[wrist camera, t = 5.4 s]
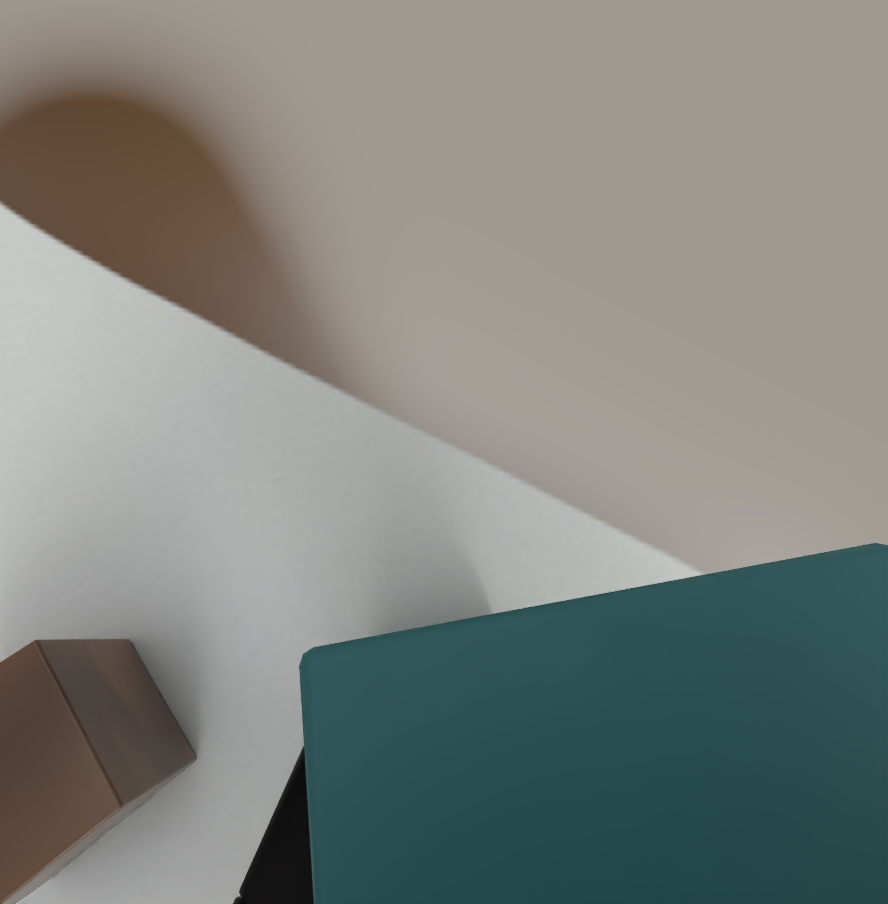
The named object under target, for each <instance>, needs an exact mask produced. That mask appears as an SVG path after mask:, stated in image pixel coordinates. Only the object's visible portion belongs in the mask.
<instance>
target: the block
mask: <svg viewBox="0 0 888 904" xmlns="http://www.w3.org/2000/svg"><path fill="white" fill-rule="evenodd" d="M195 761H196V756H195V754H194V752H193V750H192V749H191V747H190V745H189V743H188V742H187V740H186V738H185V736H184V735H183V733H182V731H181V729H180V728H179V726H178V724H177V722H176V721H175V719H174V717H173V715H172V714H171V712H170V710H169V708H168V707H167V705H166V703H165V701H164V700H163V698H162V696H161V694H160V693H159V691H158V689H157V687H156V686H155V684H154V682H153V680H152V679H151V677H150V675H149V673H148V672H147V670H146V668H145V666H144V665H143V663H142V661H141V659H140V658H139V656H138V654H137V652H136V651H135V649H134V647H133V645H132V644H131V642H130V640H129V639H72V640H35V641H33V642H31V643H30V644H28V645H27V646H25V647H24V648H22V649H21V650H19V651H18V652H16V653H15V654H13V655H11V656H10V657H8V658H7V659H5V660H4V661H2V662H1V663H0V904H15V903H17V902H18V901H20V900H21V899H22V898H24V897H25V896H27V895H28V894H29V893H31V892H32V891H34V890H35V889H36V888H38V887H39V886H40V885H42V884H43V883H45V882H46V881H47V880H49V879H50V878H51V877H53V876H54V875H55V874H56V873H58V872H59V871H60V870H61V869H63V868H64V867H65V866H66V865H68V864H69V863H70V862H71V861H72V860H74V859H75V858H76V857H77V856H79V855H80V854H81V853H82V852H84V851H85V850H86V849H87V848H88V847H90V846H91V845H92V844H93V843H95V842H96V841H97V840H98V839H100V838H101V837H102V836H103V835H105V834H106V833H107V832H108V831H109V830H111V829H112V828H113V827H114V826H116V825H117V824H118V823H119V822H121V821H122V820H123V819H124V818H126V817H127V816H128V815H129V814H130V813H132V812H133V811H134V810H135V809H137V808H138V807H139V806H140V805H142V804H143V803H144V802H145V801H147V800H148V799H149V798H150V797H151V796H153V795H154V794H155V793H156V792H158V791H159V790H160V789H161V788H163V787H164V786H165V785H166V784H168V783H169V782H170V781H171V780H172V779H174V778H175V777H176V776H177V775H179V774H180V773H181V772H182V771H184V770H185V769H186V768H187V767H188V766H190V765H191V764H192V763H193V762H195Z"/></svg>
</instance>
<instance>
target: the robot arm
mask: <svg viewBox="0 0 888 904" xmlns="http://www.w3.org/2000/svg"><path fill="white" fill-rule="evenodd" d="M239 893H240V896H241V897H240V896H239V897H237V898H236V899H235V900H234V903H233V904H314V898H313V881H312V865H311V849H310V832H309V816H308V800H307V783H306V767H305V751H304V746H303V749H302V751H301V753H300V755H299V758H298V760H297V762H296V764H295V766H294V769H293V771H292V773H291V775H290V778H289V780H288V782H287V784H286V787H285V789H284V791H283V793H282V796H281V798H280V800H279V802H278V805H277V807H276V809H275V811H274V814H273V816H272V818H271V820H270V823H269V825H268V827H267V829H266V832H265V834H264V836H263V838H262V840H261V843H260V845H259V847H258V849H257V852H256V854H255V856H254V858H253V861H252V863H251V865H250V867H249V870H248V872H247V874H246V876H245V879H244V881H243V883H242V885H241V888H240V890H239Z"/></svg>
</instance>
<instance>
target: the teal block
mask: <svg viewBox="0 0 888 904" xmlns="http://www.w3.org/2000/svg"><path fill="white" fill-rule="evenodd" d="M299 669H300V685H301V702H302V718H303V734H304V751H305V767H306V783H307V800H308V816H309V832H310V849H311V865H312V881H313V898H314V904H888V545H883V544H878V543H874V544H868V545H862V546H857V547H851V548H846V549H841V550H835V551H830V552H824V553H819V554H814V555H808V556H803V557H798V558H792V559H787V560H782V561H777V562H771V563H765V564H760V565H755V566H749V567H744V568H738V569H733V570H728V571H722V572H717V573H712V574H706V575H701V576H695V577H690V578H685V579H679V580H674V581H668V582H663V583H658V584H652V585H647V586H641V587H636V588H631V589H625V590H620V591H615V592H609V593H604V594H598V595H593V596H588V597H582V598H577V599H572V600H566V601H561V602H555V603H550V604H545V605H539V606H534V607H528V608H523V609H518V610H512V611H507V612H502V613H496V614H491V615H485V616H480V617H475V618H469V619H464V620H459V621H453V622H448V623H442V624H437V625H432V626H426V627H421V628H415V629H410V630H405V631H399V632H394V633H389V634H383V635H378V636H372V637H367V638H362V639H356V640H351V641H346V642H340V643H335V644H329V645H324V646H319V647H313V648H312V649H310V650H309V651H307V652H306V653H304V654H303V656H302V659H301V662H300V666H299Z"/></svg>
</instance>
